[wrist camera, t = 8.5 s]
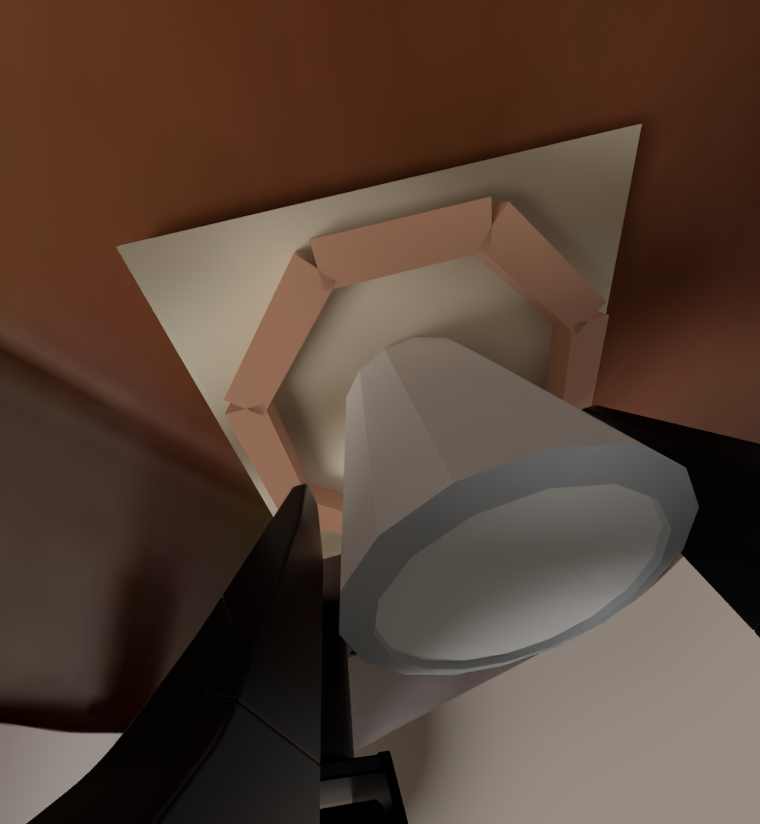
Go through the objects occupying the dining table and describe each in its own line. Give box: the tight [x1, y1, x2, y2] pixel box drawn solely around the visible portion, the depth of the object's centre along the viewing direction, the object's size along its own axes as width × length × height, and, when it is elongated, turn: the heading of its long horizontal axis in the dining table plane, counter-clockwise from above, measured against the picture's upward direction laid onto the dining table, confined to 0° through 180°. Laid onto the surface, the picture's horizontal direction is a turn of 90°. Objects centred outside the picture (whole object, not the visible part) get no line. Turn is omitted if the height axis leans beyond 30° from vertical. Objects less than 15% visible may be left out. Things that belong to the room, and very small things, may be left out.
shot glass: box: [339, 337, 699, 675], centre depth 9 cm, size 7×7×7 cm
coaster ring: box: [224, 197, 609, 535], centre depth 11 cm, size 12×12×1 cm
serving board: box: [117, 124, 642, 559], centre depth 12 cm, size 14×14×1 cm
